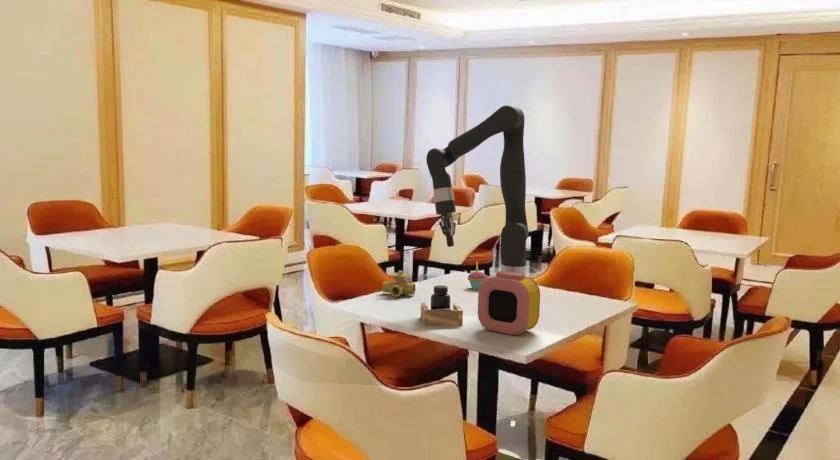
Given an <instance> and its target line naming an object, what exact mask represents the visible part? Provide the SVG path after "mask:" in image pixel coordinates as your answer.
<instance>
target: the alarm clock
mask: <svg viewBox="0 0 840 460" xmlns="http://www.w3.org/2000/svg"><path fill="white" fill-rule="evenodd" d="M540 291H541V290H540V287H539V286H538V284H537V282H536V281H535V280H533V279H532V278H531V277H527V275H526V276H524V274H520V273H514V272H506V271H501V270H500V271H497V272H496V274H495V276H490V277H489V276H488V278H487V279H485V280H484V281H483V282H482V283H481V285H480V287H479V289H478V295H477V319H478V321H479V323H480V325H481V326H482V327H483V328H484V329H486V330H488V331H490V332H492V333H494V332H495V333H498V334H499V333H500V334H504V335H505V334H506V335H510V336H520V335H521V334H523V333H524V332H526V331H529V330H531V329H534V328H535V327H536V325H537V324H538V322H539V319H540V307H541V306H540V305H541V292H540Z"/></svg>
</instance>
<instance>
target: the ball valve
mask: <svg viewBox="0 0 840 460" xmlns="http://www.w3.org/2000/svg"><path fill="white" fill-rule="evenodd" d="M403 272H404V271H403V270H398V272H393V273H391V274H389V275H390V276H389V277H390V278H396V279H395V280H394V281H387V280H384V281H383V283H382V288H381V290H382V293H388V294H390V295H391V296H392V297H399V296H406V297H407V296H414V295H415V294H416V284H415V283H412V282H410V281H408V280H407V281H405V279H407V278H408V277H410V276H411V273H409V272H408V273H405V272H404V273H403Z"/></svg>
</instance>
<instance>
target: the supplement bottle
mask: <svg viewBox="0 0 840 460" xmlns="http://www.w3.org/2000/svg"><path fill="white" fill-rule="evenodd" d="M448 289H449V288H448V286H447V285H442V284H441V285H439V284H438V285H434V286H433V294H431V295H430V310H436V309H451V295H450V294H449V293H448V291H449V290H448Z"/></svg>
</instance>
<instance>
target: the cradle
mask: <svg viewBox="0 0 840 460" xmlns="http://www.w3.org/2000/svg"><path fill="white" fill-rule="evenodd" d="M463 317H464V310H463V309H462V307H461V306H460V305H459V304H458V303H457V302H453V305H452V308H450V309H436V310H431V309H429V308H428V306H427V304H426V303H425V302H424V303H423V302H420V319H421V322H422V324H423V325H424V326H463V323H464V322H463V319H464V318H463Z"/></svg>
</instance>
